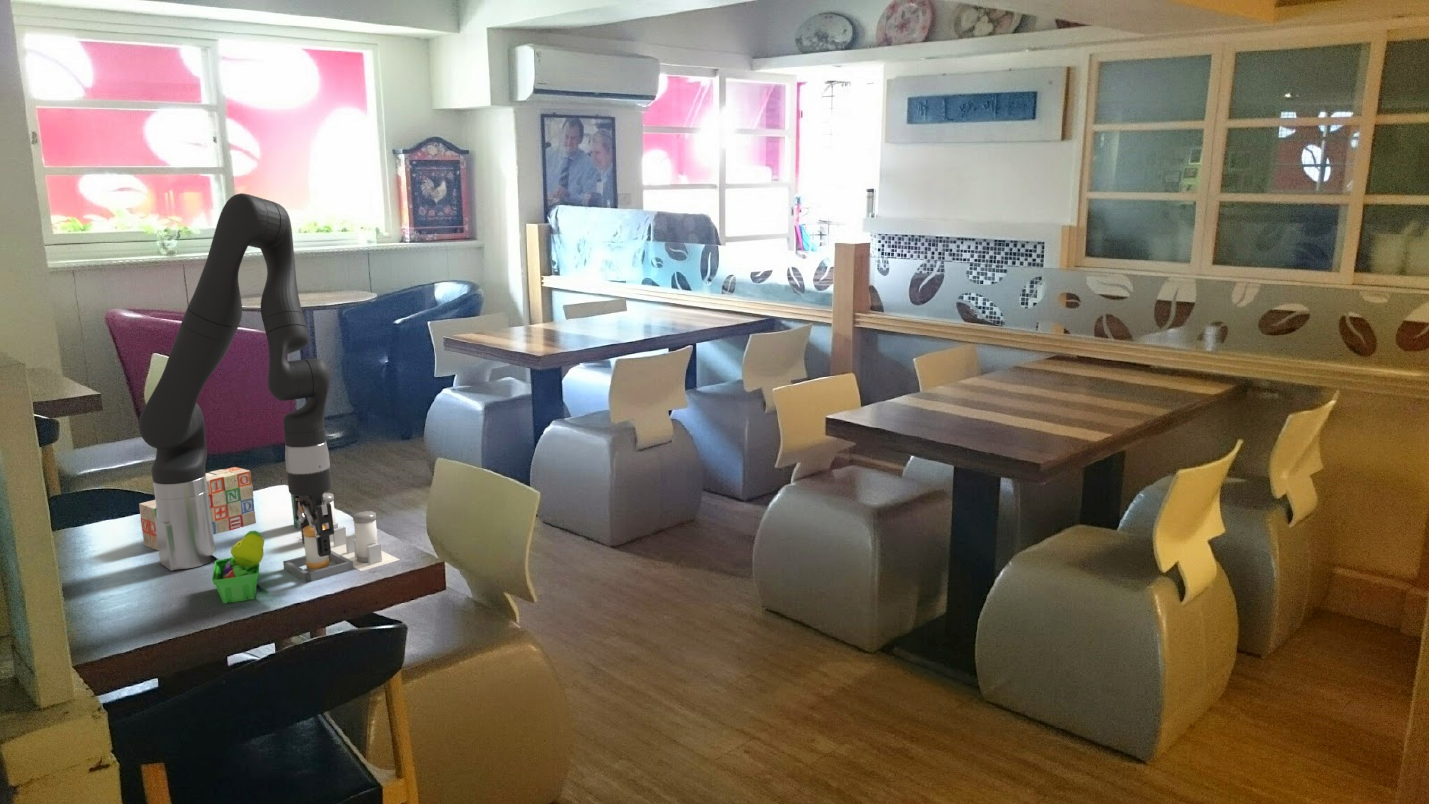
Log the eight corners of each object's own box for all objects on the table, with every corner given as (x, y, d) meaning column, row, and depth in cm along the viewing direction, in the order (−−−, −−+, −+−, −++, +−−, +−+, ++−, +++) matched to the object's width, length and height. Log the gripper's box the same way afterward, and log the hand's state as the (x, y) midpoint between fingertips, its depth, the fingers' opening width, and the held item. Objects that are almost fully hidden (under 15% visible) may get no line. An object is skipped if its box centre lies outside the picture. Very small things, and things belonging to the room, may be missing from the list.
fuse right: (363, 564, 196) (359, 519, 194) (353, 559, 198) (348, 514, 197) (383, 558, 198) (379, 514, 197) (373, 553, 201) (369, 509, 199)
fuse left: (321, 542, 208) (317, 500, 206) (312, 538, 211) (307, 496, 209) (341, 537, 211) (337, 495, 209) (331, 533, 214) (327, 491, 212)
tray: (307, 590, 187) (306, 574, 187) (284, 576, 194) (283, 561, 194) (354, 576, 194) (352, 561, 193) (330, 563, 200) (328, 549, 200)
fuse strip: (361, 578, 192) (359, 553, 191) (297, 544, 212) (295, 521, 211) (400, 567, 198) (398, 542, 197) (334, 534, 217) (332, 511, 216)
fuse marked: (333, 574, 193) (329, 529, 191) (309, 579, 191) (306, 533, 189) (326, 567, 197) (323, 522, 195) (303, 572, 194) (300, 527, 192)
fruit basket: (217, 585, 190) (210, 528, 188) (269, 577, 194) (262, 521, 191) (215, 608, 180) (207, 547, 178) (269, 599, 184) (262, 539, 181)
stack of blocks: (159, 552, 209) (151, 494, 206) (143, 546, 212) (135, 489, 210) (257, 523, 226) (250, 469, 223) (241, 518, 229) (235, 465, 227)
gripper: (342, 470, 186) (350, 554, 190) (315, 455, 197) (323, 535, 200) (300, 478, 182) (309, 564, 185) (275, 462, 192) (284, 544, 196)
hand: (316, 549), depth 193 cm, fingers open, 8 cm apart
